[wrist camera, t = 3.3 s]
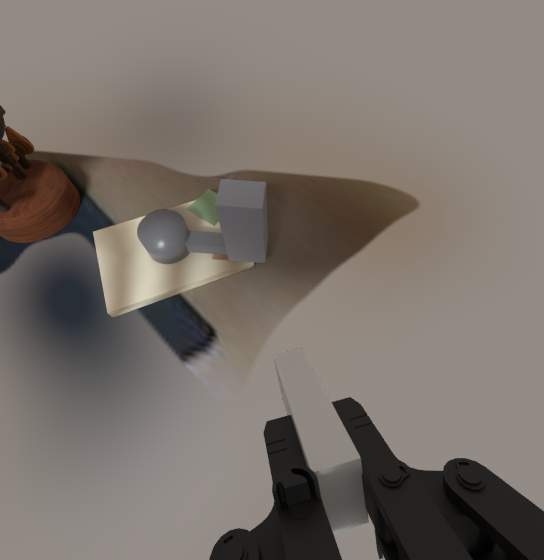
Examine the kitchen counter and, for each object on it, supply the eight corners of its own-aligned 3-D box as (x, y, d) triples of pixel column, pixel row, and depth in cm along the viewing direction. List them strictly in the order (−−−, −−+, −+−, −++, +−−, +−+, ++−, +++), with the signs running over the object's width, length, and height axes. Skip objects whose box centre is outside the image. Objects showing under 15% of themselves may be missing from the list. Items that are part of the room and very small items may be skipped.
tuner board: (113, 317, 33) (107, 312, 31) (97, 230, 38) (91, 224, 37) (260, 264, 35) (260, 258, 34) (227, 190, 40) (225, 183, 39)
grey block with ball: (142, 262, 34) (100, 206, 26) (155, 225, 36) (120, 163, 28) (264, 272, 33) (260, 218, 25) (269, 234, 36) (267, 173, 27)
